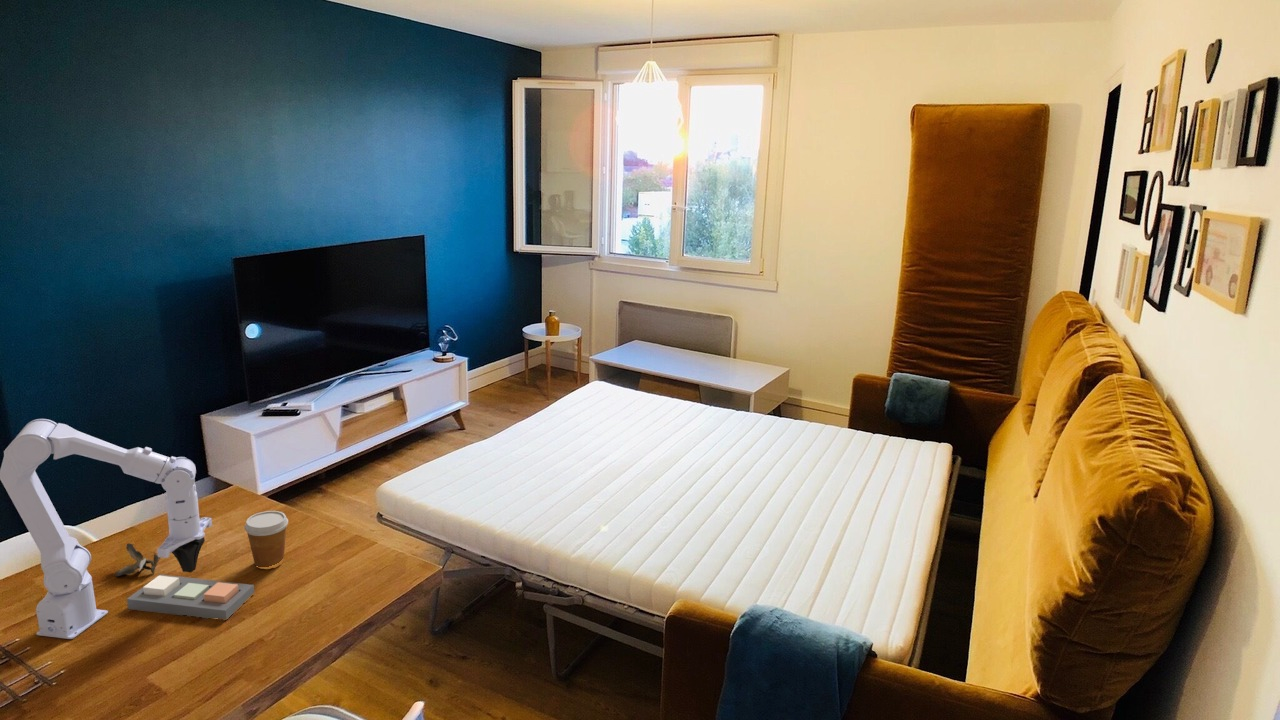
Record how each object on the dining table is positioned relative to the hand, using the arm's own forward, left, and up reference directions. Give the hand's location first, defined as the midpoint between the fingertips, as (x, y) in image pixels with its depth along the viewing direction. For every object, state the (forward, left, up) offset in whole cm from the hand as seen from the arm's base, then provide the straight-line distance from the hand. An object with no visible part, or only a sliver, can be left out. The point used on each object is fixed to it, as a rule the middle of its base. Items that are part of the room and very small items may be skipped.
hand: (189, 570), depth 162 cm
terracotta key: (0, -7, -6) cm, 10 cm away
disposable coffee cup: (+18, -7, -8) cm, 21 cm away
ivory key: (0, +7, -7) cm, 9 cm away
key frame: (0, 0, -8) cm, 8 cm away
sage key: (0, 0, -8) cm, 8 cm away
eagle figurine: (+9, +20, -8) cm, 23 cm away
